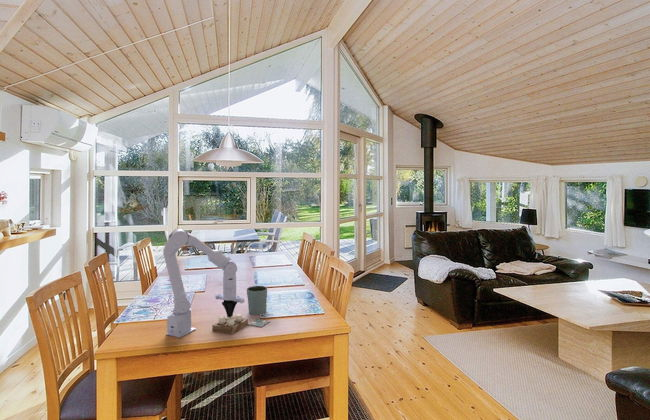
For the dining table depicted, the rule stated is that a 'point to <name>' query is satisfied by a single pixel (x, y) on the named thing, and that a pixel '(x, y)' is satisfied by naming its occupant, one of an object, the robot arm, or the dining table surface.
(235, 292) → the robot arm
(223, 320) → the button near left
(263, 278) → the dining table surface
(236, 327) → the board
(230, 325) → the button near right
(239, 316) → the button far right
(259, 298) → the grey cup
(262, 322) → the card
